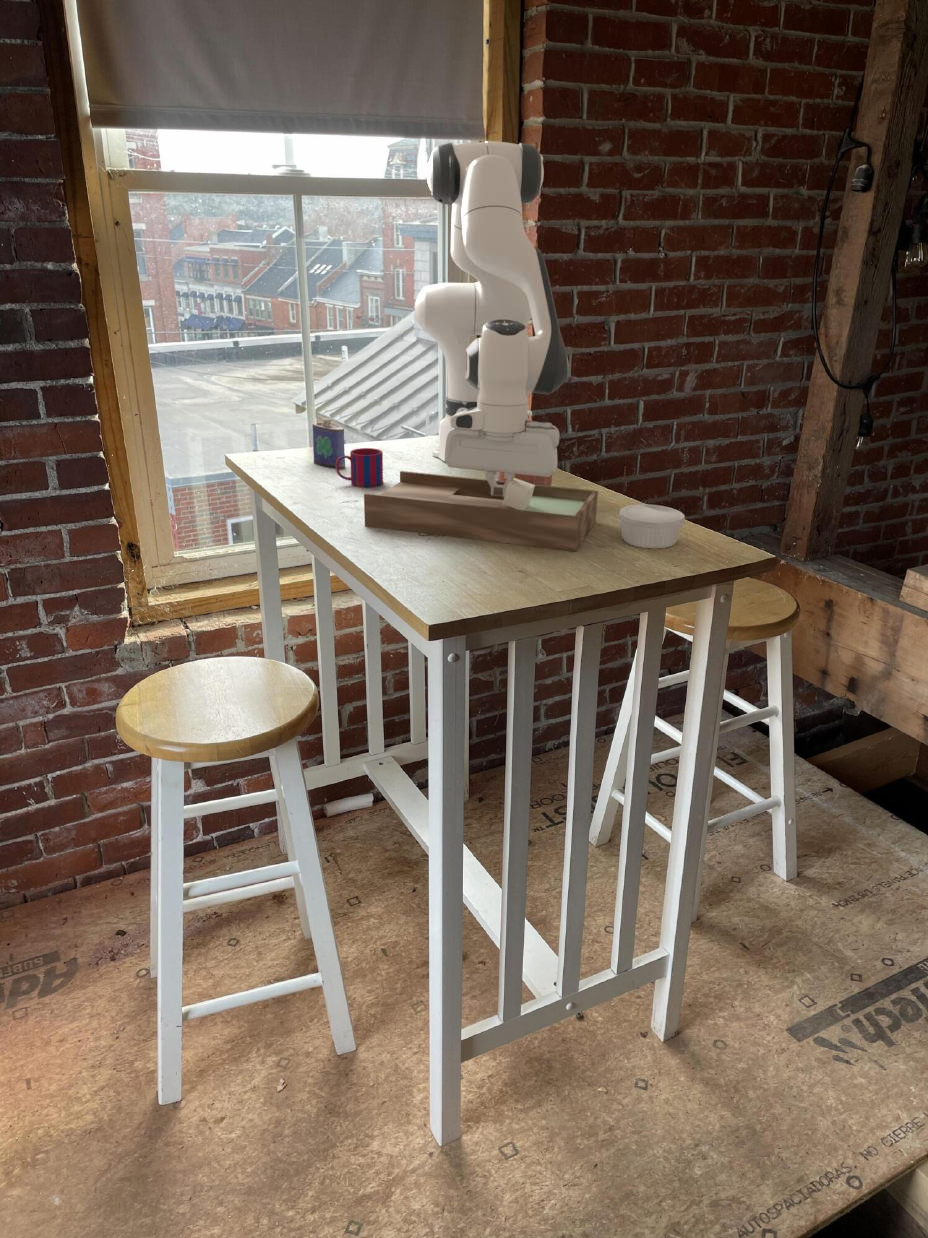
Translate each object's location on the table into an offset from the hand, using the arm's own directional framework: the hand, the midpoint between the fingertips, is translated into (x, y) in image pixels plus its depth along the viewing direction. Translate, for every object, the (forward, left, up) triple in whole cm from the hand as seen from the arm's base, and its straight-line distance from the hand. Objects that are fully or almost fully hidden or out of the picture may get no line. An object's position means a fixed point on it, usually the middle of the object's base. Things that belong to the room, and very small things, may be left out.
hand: (499, 495), depth 164 cm
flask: (-30, -49, -6) cm, 57 cm away
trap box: (0, -3, -6) cm, 7 cm away
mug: (-18, -36, -6) cm, 40 cm away
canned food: (-21, -1, -6) cm, 22 cm away
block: (0, +3, -1) cm, 3 cm away
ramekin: (-2, +27, -6) cm, 28 cm away
